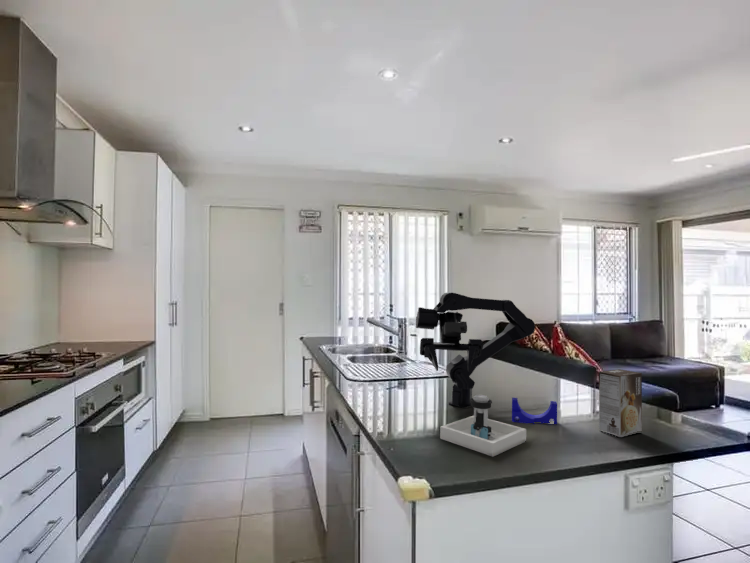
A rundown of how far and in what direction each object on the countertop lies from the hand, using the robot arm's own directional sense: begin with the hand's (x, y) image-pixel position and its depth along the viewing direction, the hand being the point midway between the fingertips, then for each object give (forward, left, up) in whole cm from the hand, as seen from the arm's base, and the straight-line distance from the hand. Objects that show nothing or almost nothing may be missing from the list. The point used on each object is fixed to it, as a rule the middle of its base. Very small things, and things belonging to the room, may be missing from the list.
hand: (453, 370), depth 125 cm
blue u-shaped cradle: (-15, +18, -14) cm, 27 cm away
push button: (+9, +16, -13) cm, 23 cm away
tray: (+10, +17, -14) cm, 23 cm away
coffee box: (-24, +37, -14) cm, 46 cm away
